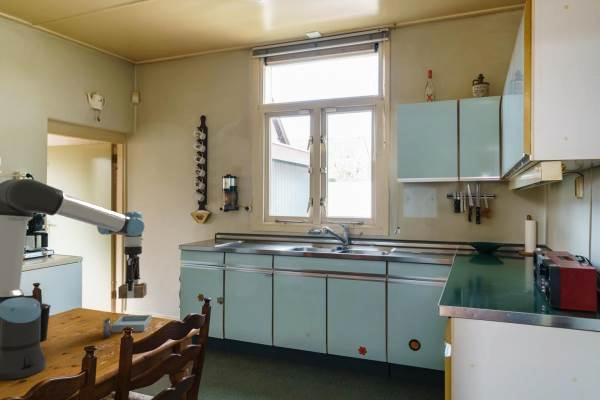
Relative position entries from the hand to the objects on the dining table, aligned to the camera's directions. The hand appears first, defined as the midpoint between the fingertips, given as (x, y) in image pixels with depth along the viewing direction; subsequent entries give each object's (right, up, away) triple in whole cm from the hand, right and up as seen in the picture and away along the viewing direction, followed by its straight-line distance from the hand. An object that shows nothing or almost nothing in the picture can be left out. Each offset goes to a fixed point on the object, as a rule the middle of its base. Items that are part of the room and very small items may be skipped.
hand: (132, 295), depth 190 cm
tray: (0, -14, 0) cm, 14 cm away
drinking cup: (-30, -14, -19) cm, 39 cm away
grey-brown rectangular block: (0, 0, 0) cm, 0 cm away
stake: (-4, -14, -16) cm, 22 cm away
